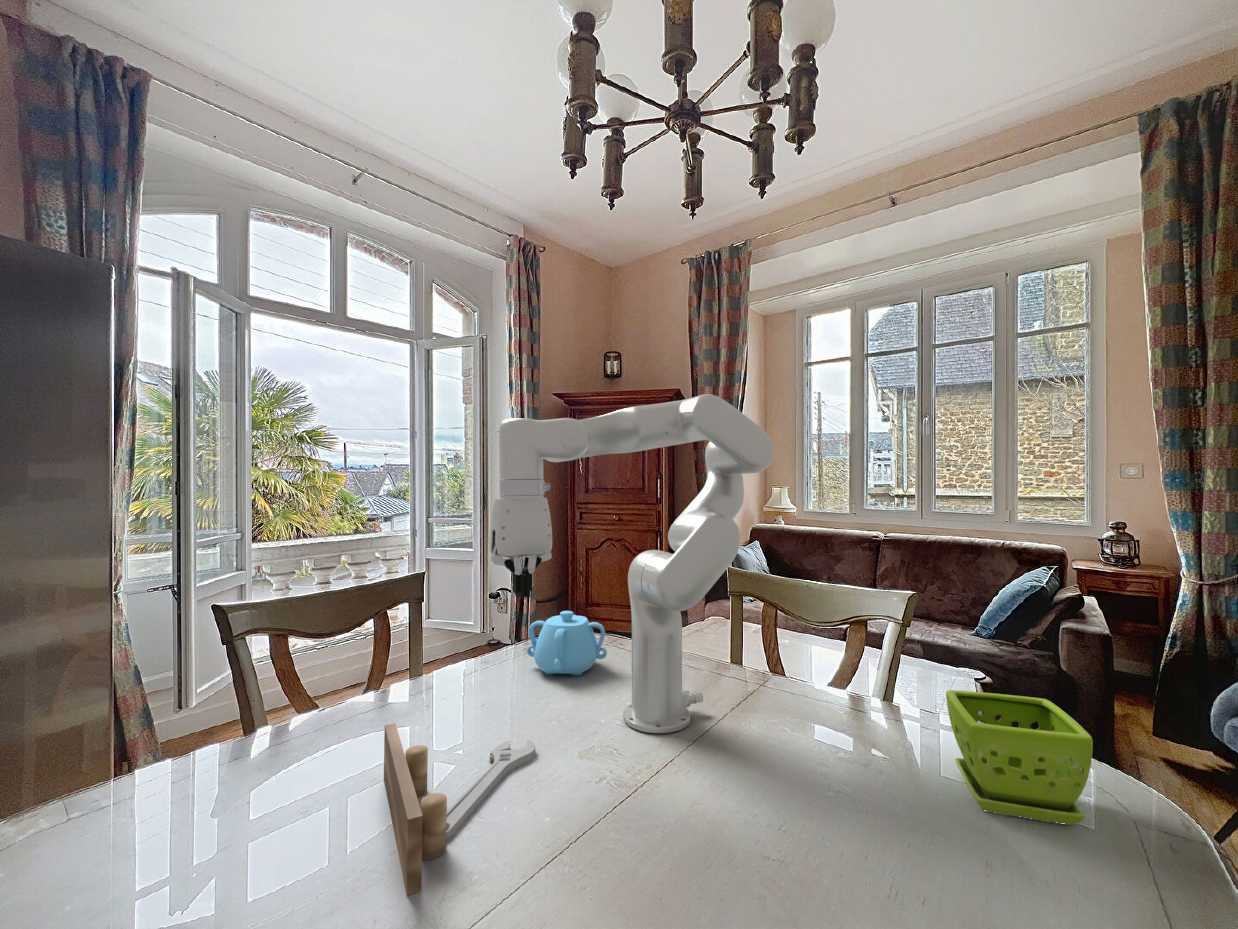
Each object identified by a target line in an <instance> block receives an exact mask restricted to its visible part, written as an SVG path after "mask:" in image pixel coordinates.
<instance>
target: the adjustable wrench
mask: <svg viewBox="0 0 1238 929" xmlns="http://www.w3.org/2000/svg"><path fill="white" fill-rule="evenodd" d="M489 754H490V755H489V762H492V765H491V766H490V767H488V769H486V771H485V772H484V773H483V774H482V775H481V776H480V777H479V778H478V779H477V780H476V781H475V782H474V783H473V784H472V785H471V786H470V787H469V788H468V789H467V790H466V791H465V792H464V793H463V794H462V795H461V796H460V797H459V798H458V799H457V800H456V801H455V802H454V803H453V805H451V806H450V808H449V809H448V808H447V825H446V842H447V841H448V840H450V838H452V836H454V834H455V832H457V831H458V830H459V828H460V827H461V826H462V825H463V824H464V823H465V821H467V819H468V818H469V817H470V815H472V813H473V812H474V811H475V809H476V808H477V807H478V806H480V804H481V803H482V802H483V801H484V799H485V798H487V796H488V795H489V793H490V792H491V791H492V790H493V789H494V788H495V787H496V786H497V784H498V783H499V782H500V781H501V780H502V779H503V778H504V777H505V775H507V774H508V772H511V771H512V770H514V769H515V768H517V767H519V766H522V765H523V764H526V763H528V762H530V761H531V760H533V759H534V758H535V757H536V745H535V743H534V741H532V740H531V739H527V740H526V746H525V747H522V748H521V747H520V748H519V749H511V741H510V740H507V741H504V742H502V743H500V744H499V745H497V746H496V747H495V748H494V749H493V750H491V751H489Z"/></svg>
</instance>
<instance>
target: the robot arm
mask: <svg viewBox="0 0 1238 929" xmlns="http://www.w3.org/2000/svg"><path fill="white" fill-rule="evenodd" d="M498 433H499V434H498V435H499V436H498V437H499V438H498V440H499V441H498V442H499V443H498V444H499V445H498V446H499V447H498V448H499V449H498V451H499V452H498V453H499V454H498V455H499V462H498V464H499V472H498V473H499V498H494V500H493V505H492V510H491V512H492V513H491V520H490V528H489V529H490V532H489V552H490V553H491V554H492V555H491V559H490V562H491V564H494V565H495V566H496V565H497V566H502V567H505V568H506V569H507V570H508V571H509V572H510V573H511V574H512V576H511V577H512V592H513V593H514V596H515V597H517V598H519V599H525V598H531V592H532V591H533V574H534V573H535V570H536V569H537V568H538V566H539V565H540V564H541V563H543V562H546V561H549V560H551V559H552V558H553V556H552V549H553V529H552V528H553V527H552V519H551V512H550V507H549V506H550V505H549V502H548V498H547V497H544V495H545V493H546V491H550V490H551V483H549V482H545V479H544V460H546V461H548V462H551V463H562V462H570V461H575V460H579V459H583V458H588V457H595V456H603V455H611V454H628V453H635V452H636V453H637V452H643V451H647V450H654V449H660V448H664V447H665V448H666V447H671V446H677V445H683V444H688V443H694V442H695V443H696V442H701V441H707V440H708V441H709V442H708V443H707V445H706V448H705V451H704V452H705V453H704V459H705V460H704V461H705V466H706V481H705V484H704V485H703V487H702V489H701V490H700V491H699V492H698V494H697V495H696V496H695V497H694V499H693V500H692V501H691V502H690V503H689V504H688V506H686V507H685V509H684V510H683V511H682V512H681V513H680V515H678V517H676V519H675V520H674V521H673V523H672V524H671V525H670V527H669V529H668V534H667V540H668V544H669V547H670V549H672V550H673V551H674V553H671V552H667V551H664V550H658V549H649V550H645V551H642V552H640V553H639V554H638V555H636V556H635V557H634V558H633V559H632V561H631V563H630V566H629V568H628V573H627V586H628V588H627V589H628V595H629V600H630V601H629V602H630V610H631V704H629V705H628V706H626V707H625V708H624V710H623V721H624V723H625V724H626V725H627V726H629V727H630V728H632V729H634V730H637V731H640V732H643V733H649V734H669V733H675V732H678V731H681V730H683V729H685V728H686V727H688V726H689V725H690V722H691V713H690V711H689V709H688V708H689V707H691V705H693V704H699V703H702V702H703V701H704V696H703V694H702V692H701V691H695V692H692V693H690V690H688V689H684V690H683V622H682V621H683V620H682V614H681V612H685V611H687V610H690V609H692V608H694V607H695V606H696V605H697V604H698V603H699V602H701V600H702V599H703V598H704V597H705V596H706V595H707V593H708V592H709V591H710V590H711V589H712V588H713V586H714V585H715V584H716V583H717V581H719V579H720V577H722V575H723V574H724V572H725V571H727V569H728V568H729V567H730V565H731V564H732V563H733V561H734V559H735V558H736V557H737V554H738V552H739V548H740V544H741V532H740V529H739V525H737V523H736V521H735V520H734V519H735V517H736V516H737V515H738V513H739V511H740V510H741V509H742V507H743V504H744V499H745V486H744V478H743V475H745V474H746V475H748V474H757V473H760V472H763V471H765V470H766V469H768V468H769V467H770V465H771V464H772V463H773V461H774V457H775V444H774V443H773V440H772V438H771V437H770V436H769V434H768V433H767V432H766V431H765V430H764V429H763V428H762V427H760V425H758V424H757V423H755V421H753V420H751V419H750V418H749V417H748V416H747V415H746V414H744V413H743V412H741V411H740V410H739V409H737V408H736V407H735V406H733V405H732V404H731V403H730V402H728V401H726V400H725V399H723V398H721V397H719V396H717V395H714V394H711V393H705V394H700V395H697V396H694V397H690V398H685V399H681V400H680V399H679V400H673V401H666V402H660V403H652V404H644V405H635V406H631V407H630V406H629V407H625V408H622V409H617V410H615V411H612V412H609V413H606V414H603V415H599V416H598V415H597V416H593V417H588V418H583V419H582V418H581V419H576V418H572V417H561V418H552V419H551V418H550V419H540V420H539V419H533V418H525V417H523V418H517V417H516V418H515V417H514V418H507V419H504V420H503V421H502V422H501V423H500V425H499V429H498ZM521 557H523V561H521ZM521 562H522V563H521Z"/></svg>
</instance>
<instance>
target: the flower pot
mask: <svg viewBox="0 0 1238 929" xmlns="http://www.w3.org/2000/svg"><path fill="white" fill-rule="evenodd" d="M945 696H946V707H947V713H948V717H949V721H950V725H951V729H952V731H953V735H954V738H955V740H956V743H957V745H958V746H957V747H958V748H959V751H960V754H961V755H962V757H963V758H961V757H955V763H956V766H957V768H958V770H959V771H960V774H961V775H962V777H963V779H964V781H965V784H966V785H967V787H968V789H969V790H970V792H971V794H972V796H973V797H974V799H975V801H976V803H977V805H978V806H979V807H980V808H982V809H983V810H986V811H990V812H989V813H992V812H996V813H995V814H998V813H1001V814H1000V815H1003V814H1006V815H1005V816H1009V815H1012V816H1011V817H1014V816H1021V817H1026V818H1032V819H1037V820H1036V821H1038V820H1043V821H1042V822H1044V821H1049V822H1048V823H1050V822H1058V823H1065V824H1072V825H1076V824H1078V823H1080V822H1082V821H1084V819H1085V815H1084V814H1083V812H1082V811H1081V809H1080V808H1079V807H1078V806H1077V804H1076V802H1077V801H1078V800H1079V798H1080V796H1081V794H1082V793H1083V791H1084V789H1085V787H1086V784H1087V781H1088V778H1089V775H1090V770H1091V767H1092V760H1093V752H1094V751H1093V750H1094V746H1093V745H1094V744H1093V743H1094V742H1093V738H1092V736H1091V734H1089V732H1088V731H1086V729H1084V728H1083V726H1081V724H1079V723H1078V722H1077V720H1075V719H1074V718H1073V717H1072V716H1070V715H1069V714H1068V713H1067V712H1065V711H1064V710H1062V709H1061V708H1060V707H1059V706H1057V705H1056V704H1055V703H1053V702H1052V701H1051V700H1048V699H1046V698H1042V697H1031V696H1023V695H1013V694H1012V695H1011V694H1002V693H992V692H983V691H982V692H979V691H971V690H969V691H968V690H953V689H948V690H946V693H945ZM979 712H982V713H981V714H979ZM997 716H1000V718H999V719H998V720H997V719H996V717H997ZM978 721H980V722H978ZM1015 722H1018V727H1017V726H1016V727H1014V726H1013V723H1015ZM1034 723H1037V724H1038V728H1036V729H1034V728H1032V725H1033V724H1034ZM982 809H981V810H982ZM983 810H982V811H983ZM1026 818H1025V819H1026ZM1032 819H1031V820H1032ZM1072 825H1071V826H1072Z"/></svg>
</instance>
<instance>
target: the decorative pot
mask: <svg viewBox="0 0 1238 929" xmlns="http://www.w3.org/2000/svg"><path fill="white" fill-rule="evenodd" d="M537 626H542V627H541V630H540V632H539V634H538V636H537V640H536V636H535V634H534V628H535V627H537ZM593 627H594V628H598V629H599V630H600V636H599V640H598V642H597V638H596V635H595V631H594V630H593ZM605 637H606V629H605V627H604V626H603V624H601V623H599V622H596V621H592V622H590V621H589V620H588V618H587V617H586V616H583V615H576V614H575V613H574V611H571V610H563V611H561V612H559V615H554V616H551V617H549V618H547V619H546V620H545V621H544V620H536V621H534V622H532V623H531V624H530V626H529V627H528V638H529V640H530V642H531V645H528V646H527V648H526V653H527V655H528V656H529V657H532V658H534V660H535V661H534V662H535V663H536V665H537V667H538V668H539V670H540V671H542V672H543V673H544V674H545V675H547V676H550V675H552V674H553V675H555V674H566V675H568V674H569V675H572V676H574V675H580V676H582V675H583V673H584V672H586V671H588V670H589V669H591V668H592V667H593V665H594V664H595V662H596V661H597V659H598V660H603V659H605V658H606V657H607V656H608V655H607V654H608V651H607V649H606V648H605V647H602V645H603V643H604V640H605ZM532 649H533V651H532ZM600 652H603V653H602V654H601V653H600Z"/></svg>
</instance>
